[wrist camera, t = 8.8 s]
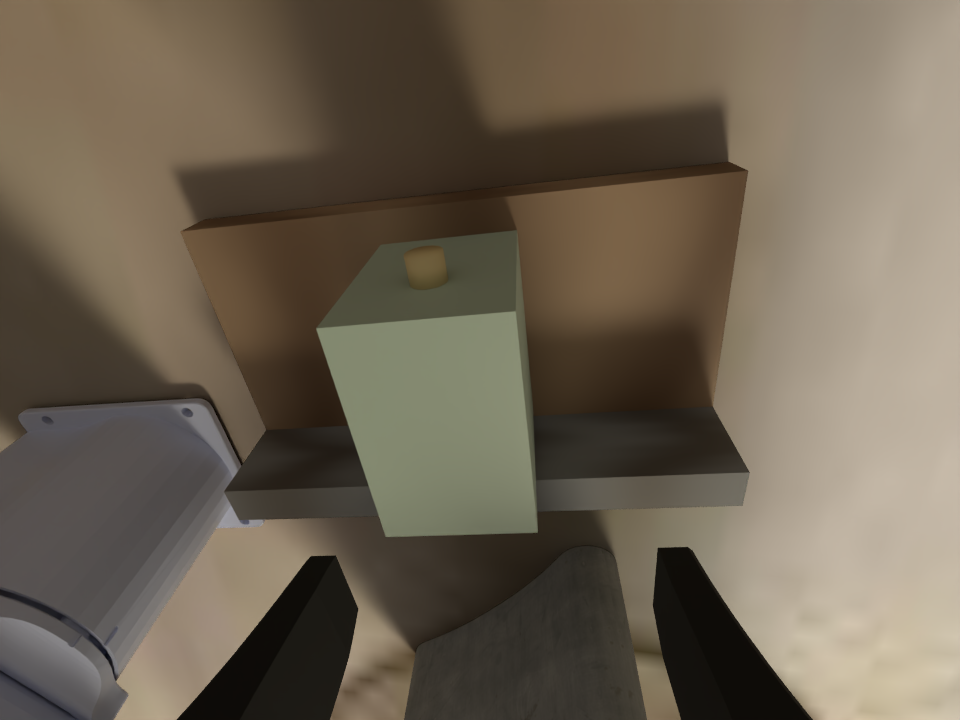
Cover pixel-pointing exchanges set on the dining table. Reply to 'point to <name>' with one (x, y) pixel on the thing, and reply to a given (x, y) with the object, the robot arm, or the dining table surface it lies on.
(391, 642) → the dining table surface
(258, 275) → the cleat wall
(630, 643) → the hip flask
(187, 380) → the dining table surface
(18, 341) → the dining table surface
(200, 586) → the dining table surface
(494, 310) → the mini cabinet
